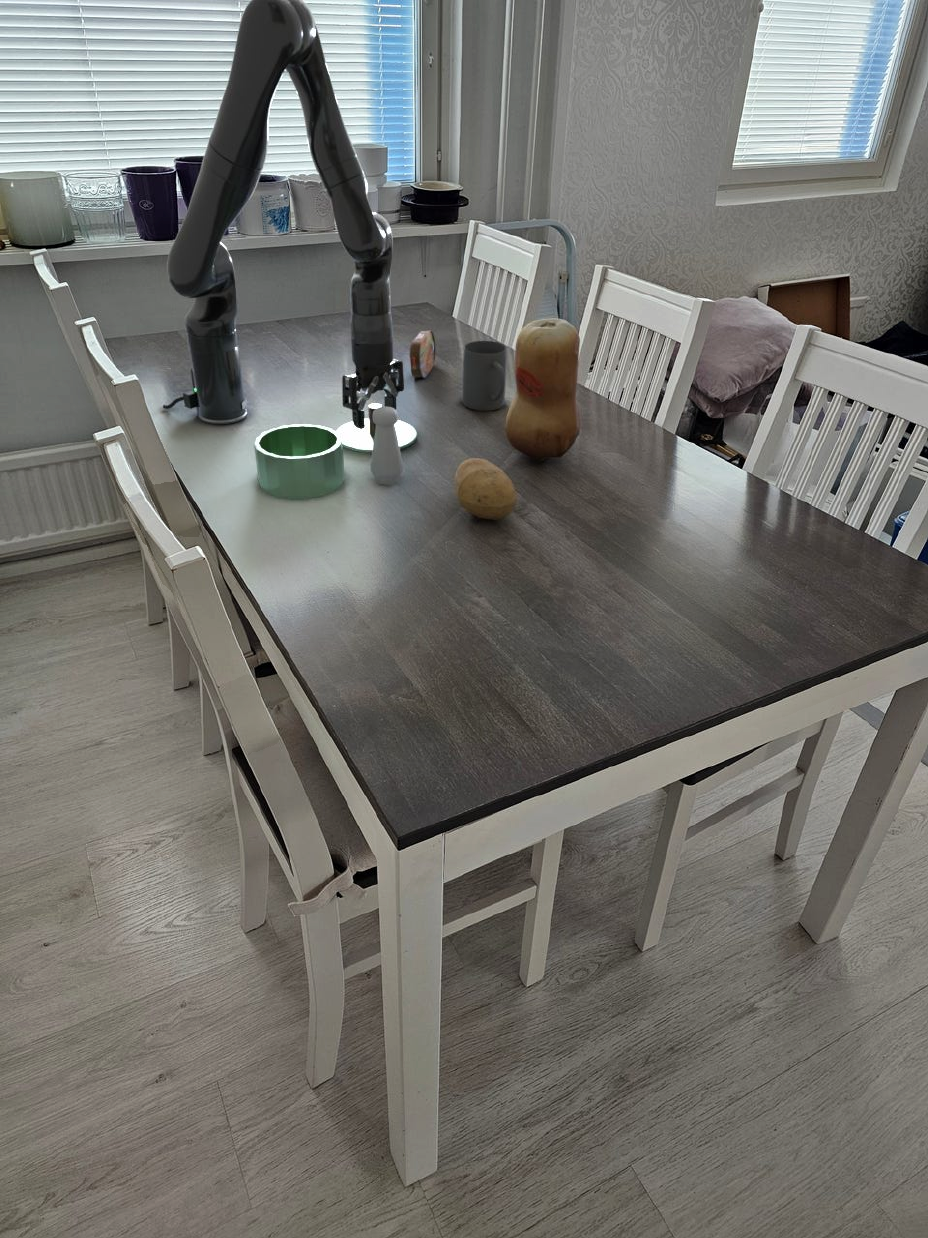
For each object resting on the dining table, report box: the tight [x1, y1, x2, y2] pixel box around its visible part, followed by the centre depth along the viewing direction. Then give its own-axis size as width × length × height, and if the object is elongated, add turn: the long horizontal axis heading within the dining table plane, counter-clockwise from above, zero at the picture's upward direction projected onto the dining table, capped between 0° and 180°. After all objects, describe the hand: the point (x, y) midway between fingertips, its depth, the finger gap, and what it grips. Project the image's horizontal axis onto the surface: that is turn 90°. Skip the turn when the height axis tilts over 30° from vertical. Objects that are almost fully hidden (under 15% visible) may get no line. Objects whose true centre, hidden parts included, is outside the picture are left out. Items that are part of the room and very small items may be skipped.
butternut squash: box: [504, 317, 581, 462], centre depth 153 cm, size 14×13×25 cm
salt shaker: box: [369, 406, 404, 486], centre depth 147 cm, size 6×6×13 cm
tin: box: [409, 330, 436, 379], centre depth 196 cm, size 15×3×8 cm, turn 168°
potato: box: [454, 457, 517, 521], centre depth 139 cm, size 10×14×8 cm
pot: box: [253, 423, 345, 500], centre depth 148 cm, size 15×15×7 cm
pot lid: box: [335, 403, 418, 453], centre depth 164 cm, size 16×16×7 cm
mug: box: [461, 340, 508, 412], centre depth 178 cm, size 14×9×12 cm
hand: (375, 421), depth 164 cm, fingers open, 8 cm apart
